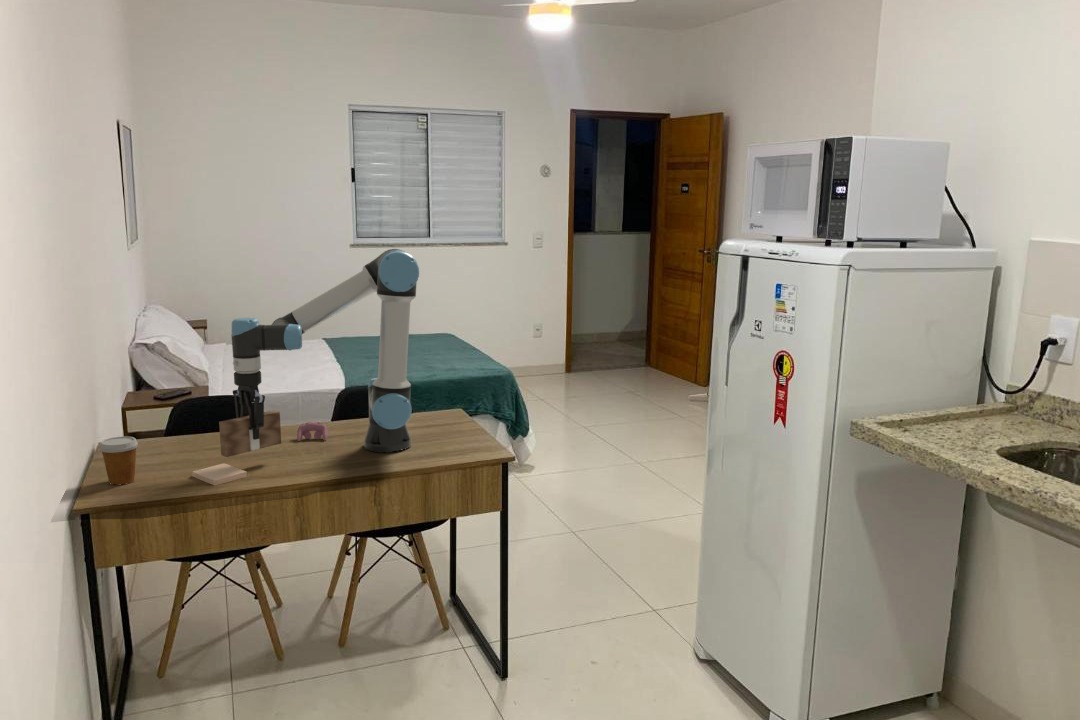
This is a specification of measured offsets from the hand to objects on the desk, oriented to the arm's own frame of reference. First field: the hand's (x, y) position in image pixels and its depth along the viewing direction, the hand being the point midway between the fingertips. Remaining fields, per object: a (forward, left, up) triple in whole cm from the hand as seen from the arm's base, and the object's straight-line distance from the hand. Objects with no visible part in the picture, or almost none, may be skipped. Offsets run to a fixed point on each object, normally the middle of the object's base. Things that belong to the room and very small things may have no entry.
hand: (251, 448), depth 236 cm
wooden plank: (0, 0, 0) cm, 0 cm away
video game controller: (-20, -25, -6) cm, 32 cm away
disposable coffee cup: (+35, +1, -6) cm, 35 cm away
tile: (+5, +3, -6) cm, 8 cm away
